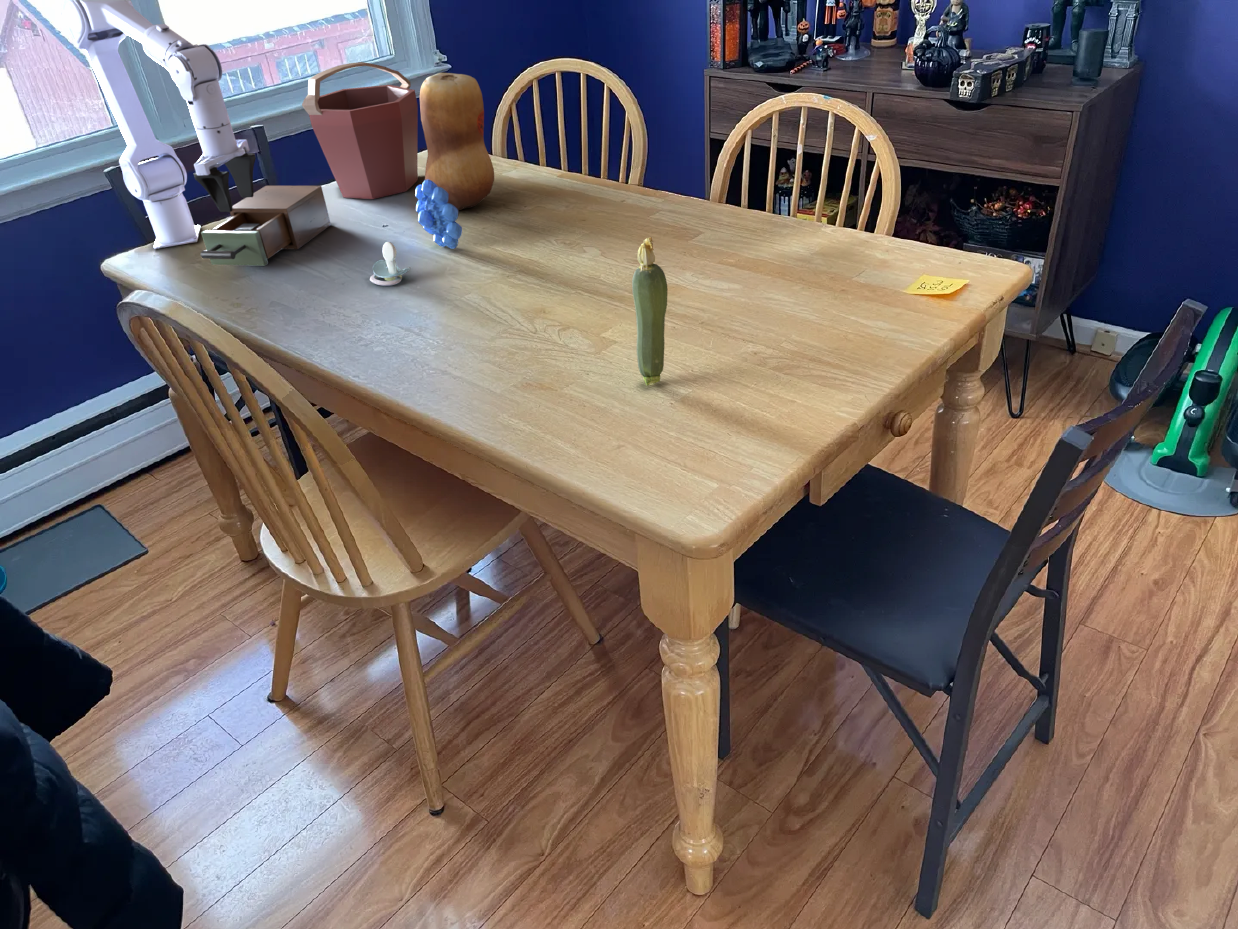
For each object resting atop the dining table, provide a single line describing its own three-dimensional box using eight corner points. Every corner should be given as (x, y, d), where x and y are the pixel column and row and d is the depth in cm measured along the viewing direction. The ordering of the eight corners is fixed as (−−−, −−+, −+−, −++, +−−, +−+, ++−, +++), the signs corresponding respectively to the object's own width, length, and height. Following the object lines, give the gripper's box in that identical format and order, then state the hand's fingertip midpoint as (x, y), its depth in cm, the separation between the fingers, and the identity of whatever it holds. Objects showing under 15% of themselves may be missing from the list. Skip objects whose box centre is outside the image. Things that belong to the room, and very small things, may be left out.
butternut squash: (494, 216, 180) (473, 80, 166) (426, 220, 181) (400, 86, 167) (502, 193, 192) (483, 64, 177) (438, 197, 192) (415, 69, 178)
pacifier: (390, 291, 153) (417, 277, 157) (381, 255, 149) (409, 242, 153) (362, 282, 157) (389, 269, 161) (353, 247, 153) (381, 235, 157)
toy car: (232, 250, 169) (225, 230, 167) (244, 242, 172) (238, 222, 170) (266, 250, 167) (259, 230, 165) (277, 242, 170) (271, 222, 168)
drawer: (249, 276, 160) (239, 243, 157) (195, 275, 163) (183, 242, 159) (298, 241, 174) (290, 209, 170) (247, 240, 176) (238, 209, 173)
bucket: (335, 211, 189) (303, 83, 175) (308, 186, 206) (276, 66, 192) (446, 185, 199) (424, 61, 185) (412, 163, 215) (389, 47, 201)
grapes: (406, 247, 169) (392, 181, 163) (436, 235, 173) (424, 171, 166) (443, 261, 162) (430, 193, 155) (474, 249, 166) (462, 182, 159)
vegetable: (636, 375, 123) (626, 229, 112) (669, 371, 123) (662, 225, 112) (640, 391, 119) (630, 242, 108) (673, 387, 119) (667, 238, 108)
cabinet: (297, 249, 172) (286, 208, 168) (241, 248, 175) (228, 208, 171) (331, 224, 183) (321, 185, 179) (277, 224, 186) (266, 185, 181)
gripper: (212, 135, 150) (237, 217, 157) (255, 113, 161) (276, 190, 169) (172, 137, 151) (200, 218, 159) (218, 114, 163) (241, 190, 170)
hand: (237, 203), depth 164 cm, fingers open, 7 cm apart
